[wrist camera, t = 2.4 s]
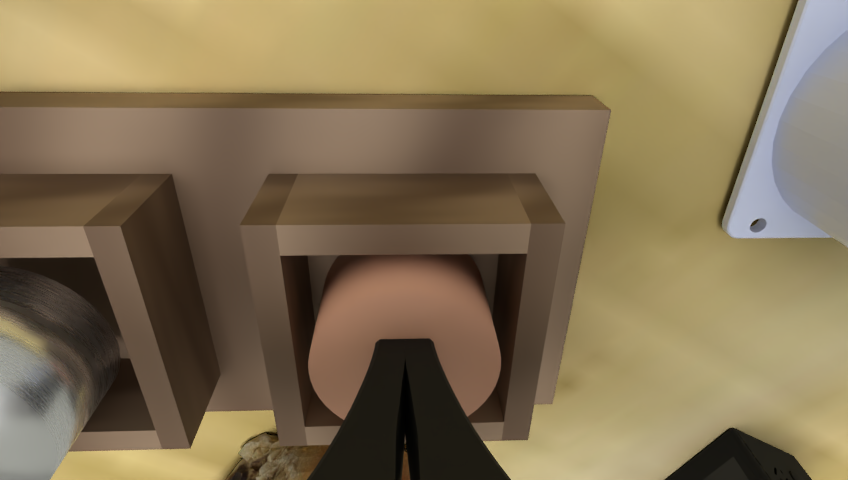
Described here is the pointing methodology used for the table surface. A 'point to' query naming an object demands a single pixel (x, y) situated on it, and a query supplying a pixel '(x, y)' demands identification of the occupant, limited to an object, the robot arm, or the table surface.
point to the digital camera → (741, 461)
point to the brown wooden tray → (290, 235)
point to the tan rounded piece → (403, 323)
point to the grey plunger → (48, 371)
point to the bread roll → (282, 460)
